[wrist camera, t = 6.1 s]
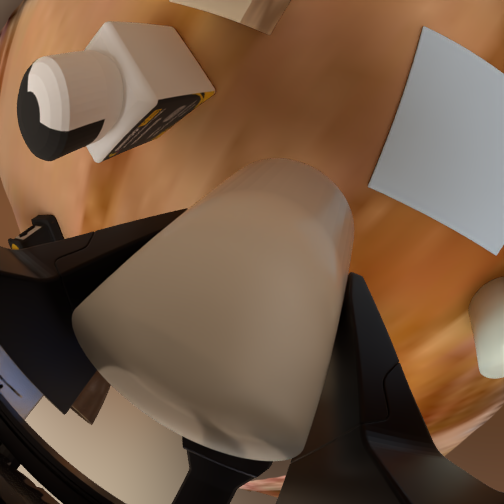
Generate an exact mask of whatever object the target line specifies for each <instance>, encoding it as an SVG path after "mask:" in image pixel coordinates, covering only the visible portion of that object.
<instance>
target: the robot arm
mask: <svg viewBox="0 0 504 504" xmlns="http://www.w3.org/2000/svg"><path fill="white" fill-rule="evenodd" d="M186 210H188V209H182V210H178V211H173V212H169V213H165V214H160V215H156V216H152V217H148V218H144V219H140V220H136V221H132V222H128V223H124V224H120V225H116V226H112V227H109V228H105V229H101V230H97V231H95V232H90V233H86V234H83V235H79V236H75V237H72V238H68V239H63V240H59V241H55V242H50V243H46V244H42V245H37V246H33V247H29V248H25V249H16V250H15V249H7V248H3V247H1V246H0V504H60V503H58V502H57V501H56V500H55V499H54V498H53V497H51V496H50V495H49V494H48V493H47V492H46V491H45V490H44V489H43V488H39V487H36V486H35V484H34V483H33V482H32V481H31V480H30V479H28V478H27V477H26V476H25V475H24V474H22V473H21V472H19V471H18V470H17V468H18V467H19V466H20V464H21V465H22V466H23V467H24V468H25V469H26V470H27V471H28V472H29V473H30V474H31V475H32V476H33V477H34V478H35V479H36V480H37V481H38V482H39V483H40V484H42V485H43V486H44V487H45V488H46V489H47V490H48V491H49V492H50V493H52V494H53V495H54V496H55V497H56V498H57V499H58V500H60V501H61V502H62V503H63V504H125V503H124V502H123V501H121V500H119V499H118V498H116V497H115V496H113V495H112V494H110V493H109V492H107V491H106V490H104V489H103V488H101V487H100V486H98V485H97V484H96V483H94V482H93V481H92V480H90V479H89V478H88V477H86V476H85V475H84V474H82V473H81V472H80V471H78V470H77V469H76V468H75V467H74V466H72V465H71V464H70V463H69V462H67V461H66V460H65V459H64V458H63V457H62V456H60V455H59V454H58V453H57V452H56V451H55V450H54V449H53V448H52V447H51V446H49V445H48V444H47V443H46V442H45V441H44V440H43V439H42V438H41V437H40V436H39V435H38V434H37V433H36V432H35V431H34V430H33V429H32V428H31V427H30V426H29V425H28V424H27V423H26V421H25V419H26V417H27V416H28V415H29V413H30V412H31V411H32V410H33V408H34V407H35V406H36V405H37V403H38V402H39V401H40V399H41V398H42V397H43V396H45V397H46V398H47V399H48V400H49V401H50V402H51V403H52V404H53V405H54V406H55V407H56V408H58V409H59V410H60V411H61V412H62V413H63V414H66V413H67V412H68V410H69V409H70V407H71V406H72V405H73V403H74V402H75V400H76V399H77V397H78V396H79V395H80V393H81V392H82V390H83V389H84V388H85V386H86V385H87V383H88V382H89V381H90V379H91V378H92V377H93V375H94V374H95V373H96V371H97V369H96V368H95V367H94V365H93V364H92V363H91V362H90V360H89V359H88V357H87V356H86V354H85V353H84V351H83V350H82V348H81V346H80V344H79V343H78V340H77V338H76V336H75V333H74V330H73V327H72V314H73V312H74V310H75V309H76V308H77V307H78V306H79V305H80V304H81V303H82V302H83V301H84V300H85V299H86V298H87V297H88V296H89V295H90V294H91V293H92V292H93V291H94V290H95V289H96V288H97V287H99V286H100V285H101V284H102V283H103V282H104V281H105V280H106V279H107V278H108V277H109V276H110V275H111V274H113V273H114V272H115V271H116V270H117V269H118V268H119V267H120V266H121V265H122V264H124V263H125V262H126V261H127V260H128V259H129V258H130V257H131V256H133V255H134V254H135V253H136V252H137V251H138V250H140V249H141V248H142V247H143V246H144V245H145V244H146V243H148V242H149V241H150V240H151V239H152V238H153V237H155V236H156V235H157V234H158V233H159V232H161V231H162V230H163V229H164V228H165V227H167V226H168V225H169V224H170V223H171V222H173V221H174V220H175V219H176V218H178V217H179V216H180V215H181V214H183V213H184V212H185V211H186ZM398 362H399V359H398V357H397V354H396V352H395V349H394V347H393V344H392V342H391V339H390V337H389V335H388V332H387V330H386V327H385V325H384V323H383V320H382V318H381V316H380V313H379V311H378V309H377V307H376V304H375V302H374V300H373V298H372V296H371V293H370V291H369V289H368V287H367V285H366V283H365V281H364V278H363V277H362V276H360V275H358V274H355V273H353V272H351V273H349V275H348V278H347V284H346V289H345V295H344V300H343V305H342V310H341V315H340V320H339V324H338V329H337V333H336V338H335V342H334V346H333V351H332V355H331V359H330V363H329V367H328V370H327V374H326V378H325V382H324V385H323V389H322V393H321V396H320V399H319V403H318V406H317V410H316V413H315V416H314V419H313V422H312V426H311V429H310V432H309V435H308V438H307V441H306V444H305V447H304V449H303V451H302V452H301V453H300V454H299V455H298V456H296V457H294V458H292V460H291V464H290V466H289V469H288V472H287V474H286V477H285V480H284V483H283V486H282V489H281V491H280V494H279V497H278V499H277V502H276V504H504V493H503V492H499V491H497V490H494V489H492V488H491V487H489V486H487V485H486V484H484V483H482V482H481V481H479V480H478V479H476V478H475V477H473V476H472V475H470V474H469V473H467V472H466V471H464V470H463V469H461V468H460V467H458V466H456V465H455V464H453V463H452V462H451V461H449V460H448V459H446V458H445V457H444V456H443V455H442V454H441V453H440V452H439V451H438V449H437V448H436V446H435V444H434V442H433V440H432V438H431V436H430V433H429V431H428V429H427V426H426V424H425V422H424V419H423V417H422V415H421V413H420V410H419V408H418V406H417V404H416V401H415V399H414V397H413V395H412V392H411V390H410V388H409V385H408V382H407V380H406V377H405V375H404V372H403V370H402V367H401V364H400V363H398ZM182 437H183V436H182ZM182 440H183V448H184V449H186V450H187V455H188V461H189V467H190V469H189V471H188V473H187V476H186V477H185V479H184V482H183V483H182V485H181V487H180V489H179V491H178V493H177V495H176V497H175V499H174V501H173V502H172V504H230V502H231V500H232V498H233V496H234V494H235V492H236V490H237V488H239V487H241V486H242V485H244V484H246V483H247V482H249V481H250V480H252V479H254V478H256V477H258V476H259V475H261V474H262V473H263V472H265V471H266V470H267V469H269V467H270V466H271V464H272V462H273V461H260V460H252V459H246V458H241V457H237V456H233V455H229V454H226V453H222V452H219V451H216V450H213V449H211V448H208V447H206V446H203V445H201V444H198V443H196V442H194V441H192V440H189V439H187V438H185V437H183V438H182Z"/></svg>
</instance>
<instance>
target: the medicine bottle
mask: <svg viewBox="0 0 504 504" xmlns="http://www.w3.org/2000/svg"><path fill="white" fill-rule="evenodd" d="M214 93H215V88H214V87H213V85H212V84H211V82H210V81H209V79H208V78H207V76H206V74H205V73H204V71H203V70H202V68H201V67H200V65H199V64H198V62H197V61H196V59H195V58H194V56H193V55H192V53H191V52H190V50H189V49H188V47H187V46H186V44H185V43H184V41H183V40H182V39H181V37H180V36H179V34H178V33H177V31H176V30H175V28H173V27H170V26H163V25H154V24H145V23H132V22H112V21H109V22H105V23H104V24H103V26H102V27H101V28H100V29H99V31H98V32H97V33H96V35H95V36H94V37H93V39H92V40H91V41H90V43H89V44H88V45H87V47H86V48H85V50H84V51H78V52H70V53H63V54H56V55H50V56H45V57H41V58H39V59H37V60H36V61H35V62H34V63H33V64H32V65H31V66H30V67H29V68H28V69H27V71H26V73H25V74H24V76H23V79H22V82H21V85H20V89H19V94H18V100H17V117H18V123H19V128H20V131H21V134H22V136H23V139H24V141H25V143H26V144H27V146H28V148H29V149H30V151H31V152H32V153H33V154H34V155H35V156H36V157H38V158H40V159H42V160H45V161H53V160H55V159H57V158H60V157H62V156H64V155H66V154H68V153H71V152H73V151H75V150H78V149H80V148H82V147H85V146H86V147H87V148H88V150H89V152H90V154H91V156H92V157H93V159H94V161H95V162H97V163H100V162H102V161H104V160H107V159H109V158H111V157H113V156H116V155H118V154H120V153H122V152H125V151H127V150H129V149H132V148H134V147H137V146H139V145H142V144H144V143H147V142H149V141H152V140H154V139H157V138H158V137H160V136H161V135H162V134H163V133H164V132H166V131H167V130H168V129H169V128H170V127H172V126H173V125H174V124H175V123H177V122H178V121H179V120H180V119H182V118H183V117H184V116H185V115H187V114H188V113H189V112H191V111H192V110H193V109H195V108H196V107H197V106H199V105H200V104H201V103H203V102H204V101H205V100H207V99H208V98H210V97H211V96H212V95H214Z"/></svg>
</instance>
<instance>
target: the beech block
mask: <svg viewBox="0 0 504 504" xmlns="http://www.w3.org/2000/svg"><path fill="white" fill-rule="evenodd" d="M290 1H291V0H169V2H174V3H178V4H181V5H185V6H189V7H192V8H196V9H199V10H203V11H206V12H209V13H212V14H215V15H218V16H221V17H224V18H227V19H230V20H233V21H235V22H238V23H241V24H243V25H246V26H248V27H251V28H253V29H256V30H258V31H261V32H263V33H265V34H268V35H270V34H271V32H272V31H273V29H274V27H275V26H276V24H277V22H278V21H279V19H280V17H281V16H282V14H283V12H284V11H285V9H286V8H287V6H288V4H289V3H290Z"/></svg>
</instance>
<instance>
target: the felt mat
mask: <svg viewBox="0 0 504 504" xmlns="http://www.w3.org/2000/svg"><path fill="white" fill-rule="evenodd" d="M368 187H369V188H372V189H374V190H376V191H378V192H381V193H383V194H385V195H387V196H389V197H391V198H393V199H395V200H398V201H400V202H402V203H404V204H406V205H408V206H410V207H412V208H414V209H416V210H418V211H420V212H422V213H424V214H426V215H427V216H429V217H431V218H433V219H435V220H437V221H439V222H441V223H442V224H444V225H446V226H448V227H450V228H451V229H453V230H455V231H457V232H458V233H460V234H462V235H464V236H465V237H467V238H469V239H470V240H472V241H474V242H475V243H477V244H479V245H480V246H482V247H484V248H485V249H487V250H488V251H490V252H492V253H493V254H495V255H497V254H498V252H499V251H500V249H501V248H502V246H503V245H504V74H503V73H502V72H500V71H499V70H498V69H496V68H495V67H493V66H492V65H491V64H489V63H488V62H486V61H485V60H483V59H482V58H480V57H479V56H477V55H476V54H474V53H472V52H471V51H469V50H467V49H466V48H464V47H462V46H461V45H459V44H457V43H456V42H454V41H452V40H450V39H448V38H447V37H445V36H443V35H441V34H439V33H437V32H435V31H433V30H431V29H429V28H427V27H425V26H423V28H422V31H421V35H420V39H419V43H418V46H417V50H416V53H415V57H414V60H413V63H412V67H411V70H410V73H409V76H408V80H407V83H406V86H405V89H404V92H403V95H402V98H401V101H400V104H399V106H398V109H397V112H396V115H395V118H394V121H393V123H392V126H391V129H390V131H389V134H388V137H387V139H386V142H385V145H384V147H383V150H382V152H381V155H380V157H379V160H378V162H377V165H376V167H375V170H374V172H373V174H372V177H371V179H370V182H369V184H368Z"/></svg>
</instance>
